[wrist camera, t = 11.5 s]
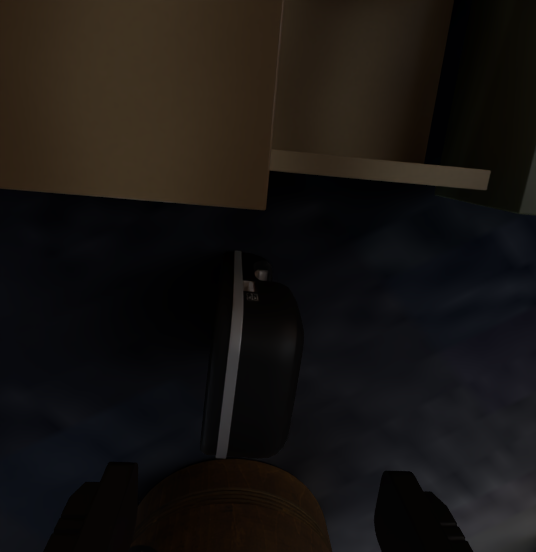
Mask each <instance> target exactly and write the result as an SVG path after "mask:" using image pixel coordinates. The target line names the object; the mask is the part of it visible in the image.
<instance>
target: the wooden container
mask: <svg viewBox="0 0 536 552" xmlns="http://www.w3.org/2000/svg"><path fill="white" fill-rule="evenodd" d="M129 552H332V548H331V544H330V540H329V535H328V531H327V526H326V522H325V519H324V515H323V513H322V510H321V508H320V506H319V504H318V502H317V500H316V499H315V497H314V496H313V494H312V493H311V492H310V490H309V489H308V488H307V487H306V486H305V485H304V484H303V483H302V482H301V481H299V480H298V479H297V478H295V477H294V476H293V475H291V474H289V473H288V472H286V471H284V470H282V469H280V468H277V467H275V466H272V465H269V464H266V463H262V462H258V461H252V460H245V459H217V460H211V461H206V462H201V463H198V464H194V465H191V466H188V467H186V468H184V469H181V470H179V471H177V472H175V473H173V474H171V475H170V476H168V477H166V478H165V479H163V480H162V481H161V482H160V483H158V484H157V485H156V486H155V487H154V488H153V489H151V490H150V491H149V492H148V494H147V495H146V496H145V497H144V498H143V500H142V501H141V503H140V504H139V506H138V510H137V519H136V526H135V531H134V535H133V539H132V542H131V546H130V550H129Z"/></svg>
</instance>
